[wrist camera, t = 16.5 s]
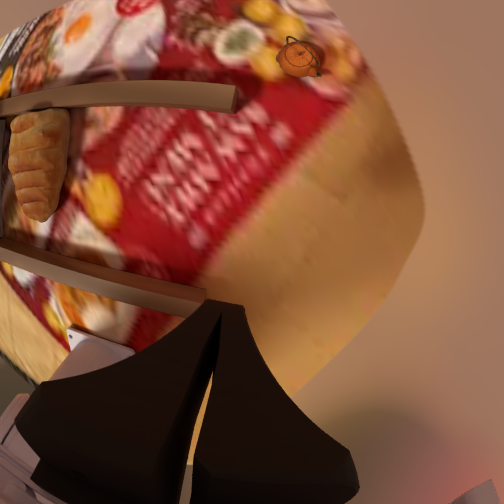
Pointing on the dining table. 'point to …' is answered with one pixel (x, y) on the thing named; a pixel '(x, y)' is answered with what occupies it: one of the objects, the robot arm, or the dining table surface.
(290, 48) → the round teapot
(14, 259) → the rail
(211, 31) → the dining table surface
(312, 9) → the dining table surface
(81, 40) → the dining table surface
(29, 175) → the pastry
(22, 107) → the rail
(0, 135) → the block
